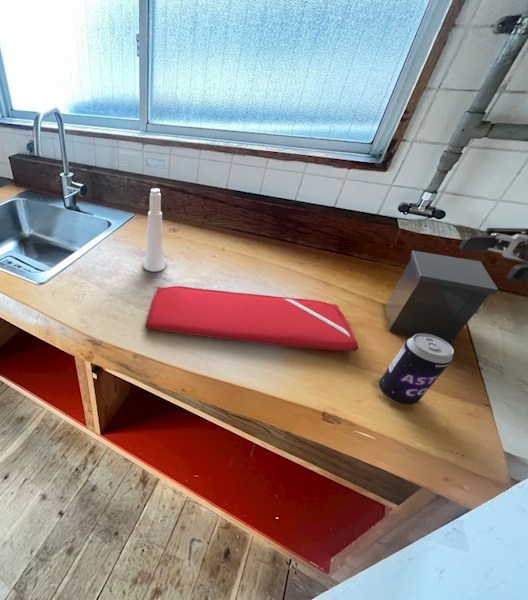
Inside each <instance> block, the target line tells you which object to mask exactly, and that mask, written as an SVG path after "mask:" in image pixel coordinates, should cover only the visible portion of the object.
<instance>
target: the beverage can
mask: <svg viewBox="0 0 528 600" xmlns="http://www.w3.org/2000/svg"><path fill="white" fill-rule="evenodd" d="M454 353H455V350H454V347H453V346H452V345H451V344H449V343H447V342H446V341H444V340H443V339H441V338H439V337H436V336H433V335H430V334H423V333H421V334H416V335H414V336H413V337H412V336H411V337H410V338H407V340H406V341H405V342H404V343H403V345H402V347H401V348H400V350H399V351H398V352H397V354H396V355H395V357H394V358H393V360H392V362H391V363H390V364H389V366H388V367H387V369H386V370H385V371H384V373H383V374H382V376H381V378H380V379H379V380H378V387H379V390H380V391H381V392H382V394H383V395H384V396H385V397H386V399H388V400H390V401H392V402H393V403H396V404H399V405H409V406H411V405H416V404H418V403H419V401H420V400H421V399H422V398H423V396H424V395H425V394H426V393H427V392H428V391H429V390H430V388H431V387H432V386H433V384H434V383H435V382H436V381H437V380H438V379H439V377H440V376H441V375H442V374H443V373H444V372H445V370H446V369H447V368H448V367H449V366H450V364H452V362H453V359H454V357H453V355H454Z"/></svg>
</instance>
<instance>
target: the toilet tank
mask: <svg viewBox="0 0 528 600" xmlns="http://www.w3.org/2000/svg"><path fill="white" fill-rule="evenodd" d="M409 255H410V260H409V262H408V264H407V265H406V267H405V269H404V271H403V273H401V276H400V277H399V279H398V281H397V283H396V285H395V287H394V288H393V290H392V292H391V293H390V295H389V297H388V299H387V300H386V302H385V304H384V305H385V306H384V307H385V313H386V320H387V328H388V331H389V332H392V333H397V334H399V335H400V334H401V335H403V336H404V335H405V336H408V337H411V338H412V337H413V336H414V335H416V334H421V333H423V334H430V335H433V336H436V337H439V338H441V339H443V340H444V341H446V342H447V343H449V344H450V345H451V344H452V343H453V342H454V340H455V339H456V338H457V337H458V335H459V334H460V333H461V331H462V330H463V329H464V327H465V326H466V325H467V324H468V323H469V321H470V320H471V319H472V317H473V316H474V315H475V314H474V313H475V312H476V311H477V310H478V308H479V307H480V306H481V305H482V306H483V304H484V302H485V301H486V300H487V299H488V297H489V296H490V295H496V294H497V293H498V291H499V289H498V287H497V285H496V284H495V282H494V281H493V279H492V278H491V276H490V275H489V273H488V271H487V270H486V268H485V266H484V265H483V263H482V262H481V261H479V260H475V259H474V260H473V259H468V258H460V257H456V256H450V255H442V254H436V253H430V252H424V251H419V250H411V252H410V254H409Z"/></svg>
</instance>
